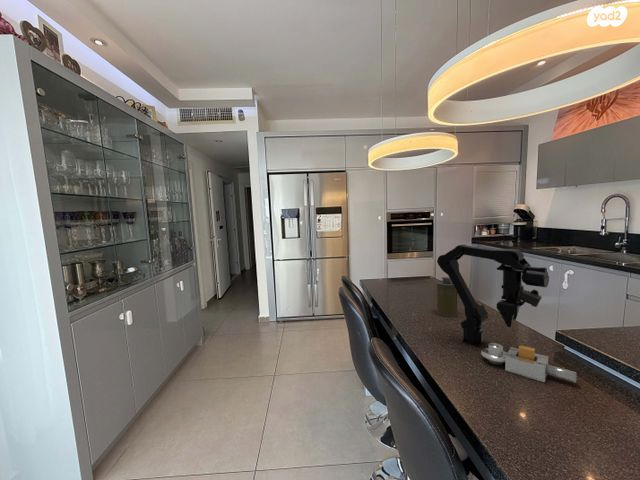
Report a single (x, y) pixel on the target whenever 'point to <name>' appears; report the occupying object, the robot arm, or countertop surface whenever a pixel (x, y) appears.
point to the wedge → (527, 352)
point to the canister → (446, 298)
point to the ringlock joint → (525, 364)
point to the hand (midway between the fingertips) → (511, 323)
